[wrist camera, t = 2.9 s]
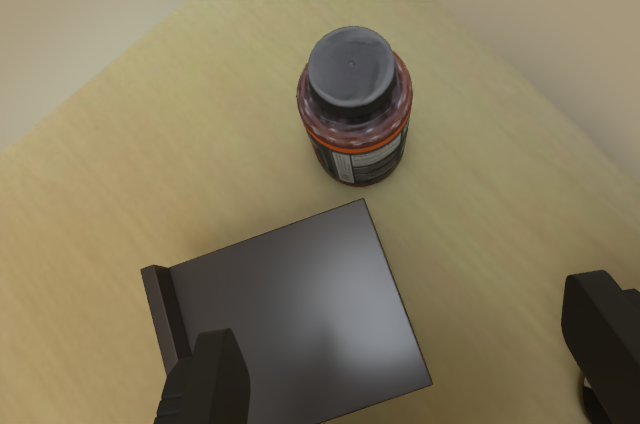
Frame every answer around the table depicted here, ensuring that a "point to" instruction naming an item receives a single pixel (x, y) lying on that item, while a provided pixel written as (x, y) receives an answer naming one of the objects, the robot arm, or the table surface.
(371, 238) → the shelf
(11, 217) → the table surface
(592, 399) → the beverage can
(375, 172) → the supplement bottle
